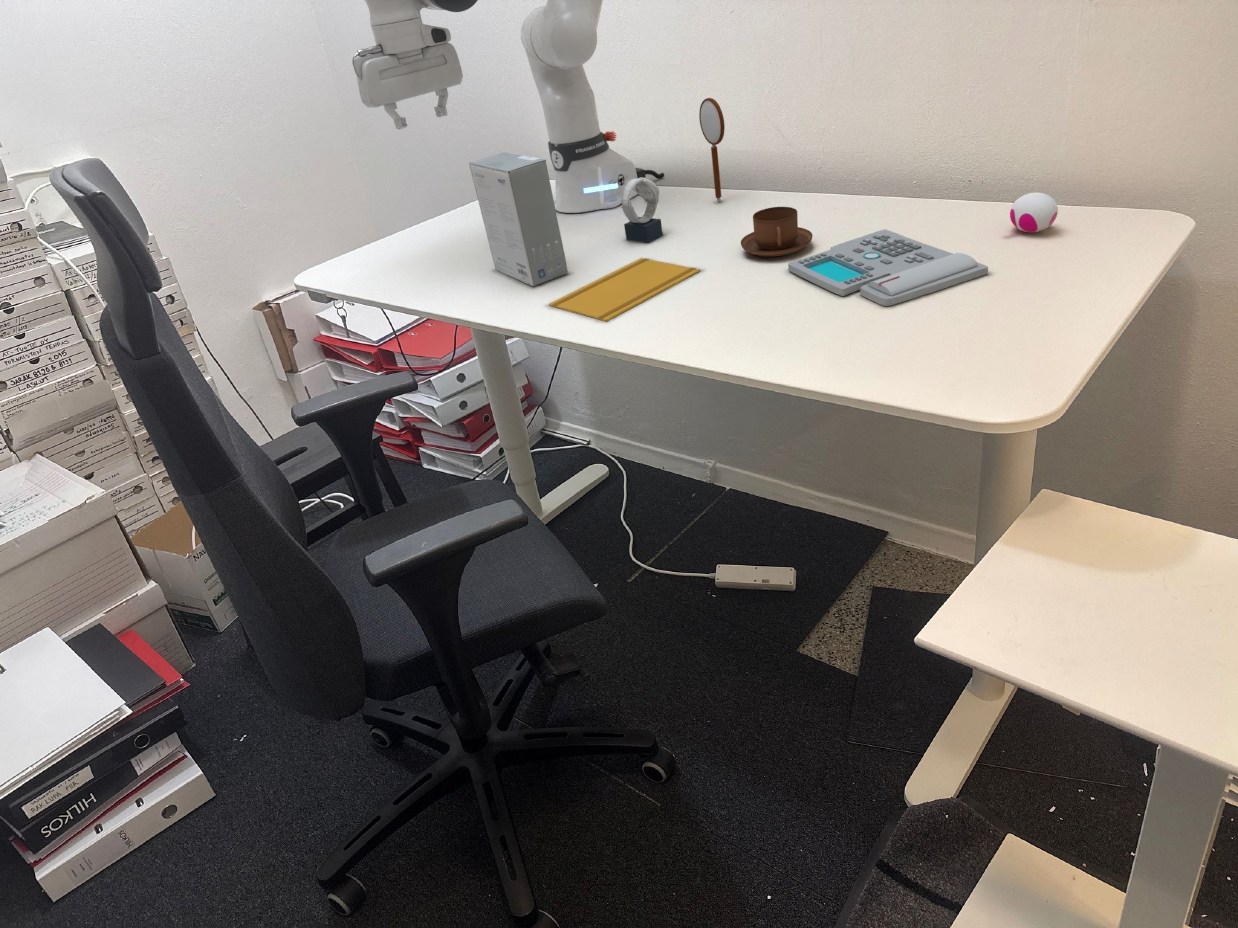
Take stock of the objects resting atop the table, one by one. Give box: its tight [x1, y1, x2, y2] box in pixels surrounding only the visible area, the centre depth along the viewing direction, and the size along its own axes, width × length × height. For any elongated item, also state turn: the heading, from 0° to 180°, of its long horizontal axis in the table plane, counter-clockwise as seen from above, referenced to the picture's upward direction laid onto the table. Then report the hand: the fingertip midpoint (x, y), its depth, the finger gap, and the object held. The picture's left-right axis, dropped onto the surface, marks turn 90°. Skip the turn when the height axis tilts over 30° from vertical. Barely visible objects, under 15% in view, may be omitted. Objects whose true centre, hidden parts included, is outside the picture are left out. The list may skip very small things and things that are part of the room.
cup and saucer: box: [740, 206, 813, 257], centre depth 138 cm, size 12×12×6 cm
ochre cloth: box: [548, 257, 701, 322], centre depth 136 cm, size 22×14×1 cm, turn 134°
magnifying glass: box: [698, 97, 725, 203], centre depth 163 cm, size 9×2×20 cm, turn 23°
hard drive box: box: [468, 152, 569, 287], centre depth 145 cm, size 16×8×20 cm, turn 34°
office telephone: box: [787, 228, 989, 307], centre depth 124 cm, size 23×3×20 cm
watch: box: [621, 178, 664, 244], centre depth 154 cm, size 6×8×11 cm
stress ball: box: [1009, 191, 1059, 236], centre depth 128 cm, size 8×8×7 cm
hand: (422, 122), depth 152 cm, fingers open, 8 cm apart
